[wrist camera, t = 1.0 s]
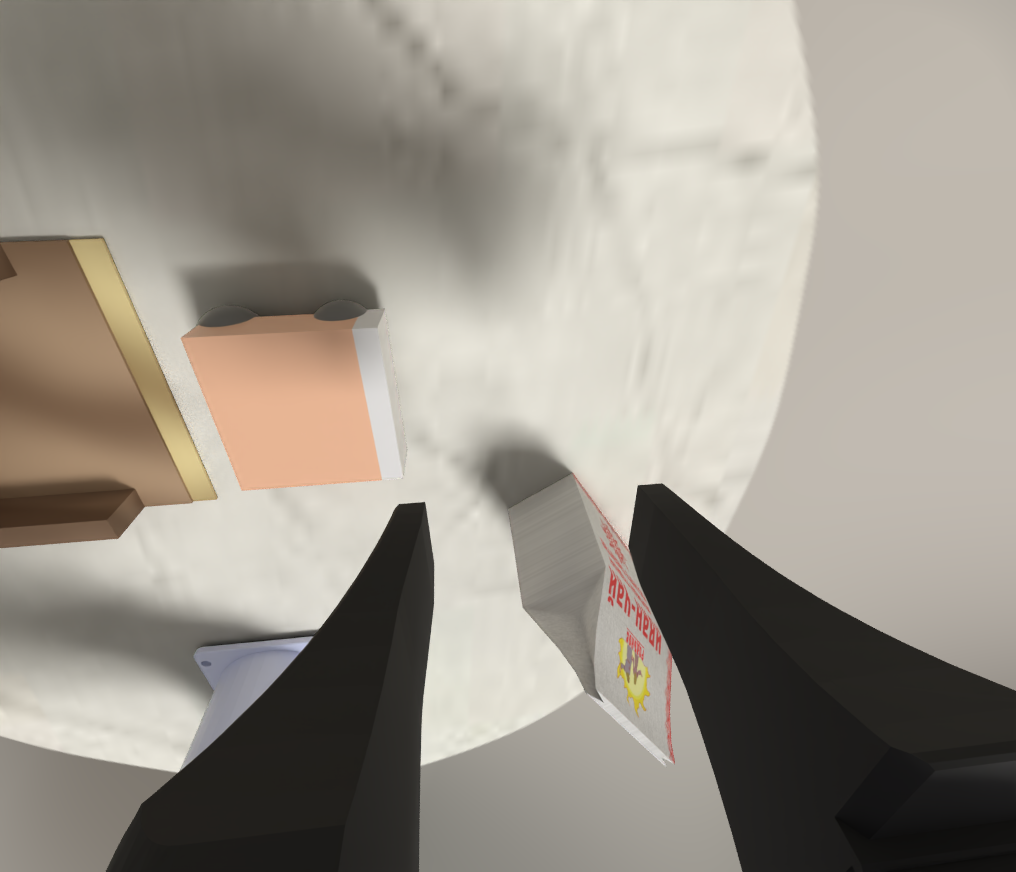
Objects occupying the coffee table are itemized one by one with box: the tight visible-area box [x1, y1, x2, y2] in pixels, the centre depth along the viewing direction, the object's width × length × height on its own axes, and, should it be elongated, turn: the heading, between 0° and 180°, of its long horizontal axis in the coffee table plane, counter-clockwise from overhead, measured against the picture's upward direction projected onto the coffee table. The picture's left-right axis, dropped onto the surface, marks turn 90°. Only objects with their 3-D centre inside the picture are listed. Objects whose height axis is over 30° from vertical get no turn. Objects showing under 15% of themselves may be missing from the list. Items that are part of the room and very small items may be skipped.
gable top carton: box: [508, 473, 675, 766], centre depth 21 cm, size 4×7×10 cm, turn 33°
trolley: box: [181, 300, 407, 491], centre depth 18 cm, size 7×6×3 cm
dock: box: [0, 238, 217, 548], centre depth 17 cm, size 11×10×2 cm
